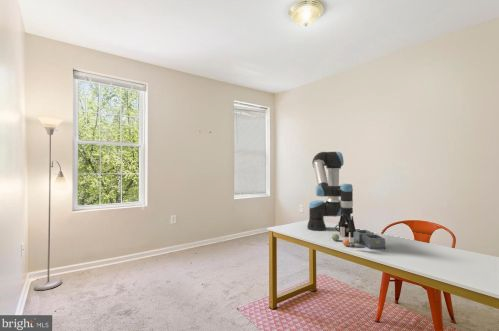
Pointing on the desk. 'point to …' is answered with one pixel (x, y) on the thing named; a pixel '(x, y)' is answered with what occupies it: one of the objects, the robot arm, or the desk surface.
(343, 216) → the robot arm
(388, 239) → the desk surface
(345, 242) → the rust ball
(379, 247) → the grey open box
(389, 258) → the desk surface
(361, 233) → the grey square bin
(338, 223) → the coffee mug
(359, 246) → the card
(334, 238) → the olive ball
